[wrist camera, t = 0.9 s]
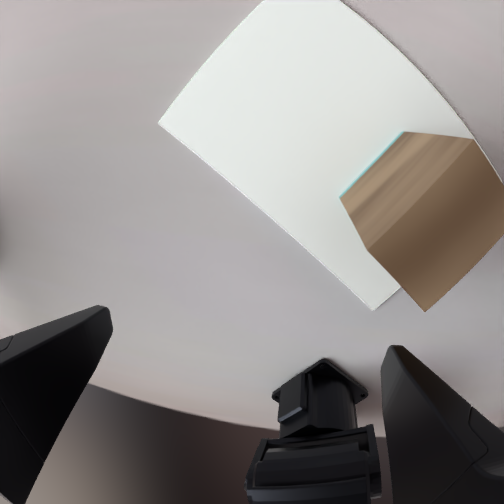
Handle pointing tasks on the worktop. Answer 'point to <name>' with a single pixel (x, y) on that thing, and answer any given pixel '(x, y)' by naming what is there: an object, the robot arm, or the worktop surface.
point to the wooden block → (427, 211)
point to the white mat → (308, 123)
